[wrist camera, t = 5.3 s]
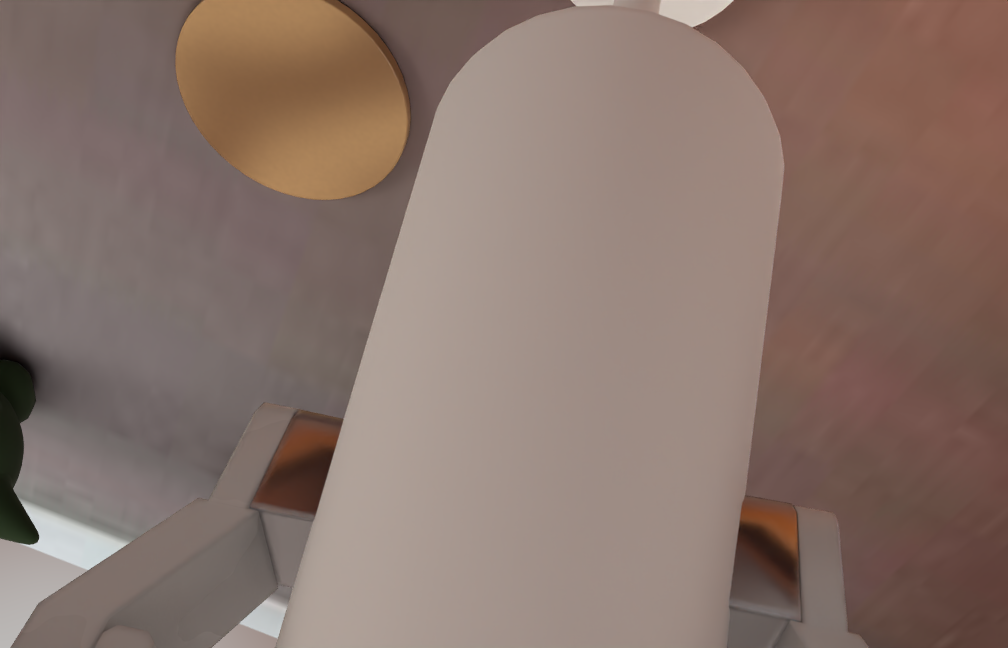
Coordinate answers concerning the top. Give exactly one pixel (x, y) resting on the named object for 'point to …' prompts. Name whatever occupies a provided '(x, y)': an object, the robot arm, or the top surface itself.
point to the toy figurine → (14, 450)
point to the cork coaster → (294, 94)
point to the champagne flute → (560, 353)
